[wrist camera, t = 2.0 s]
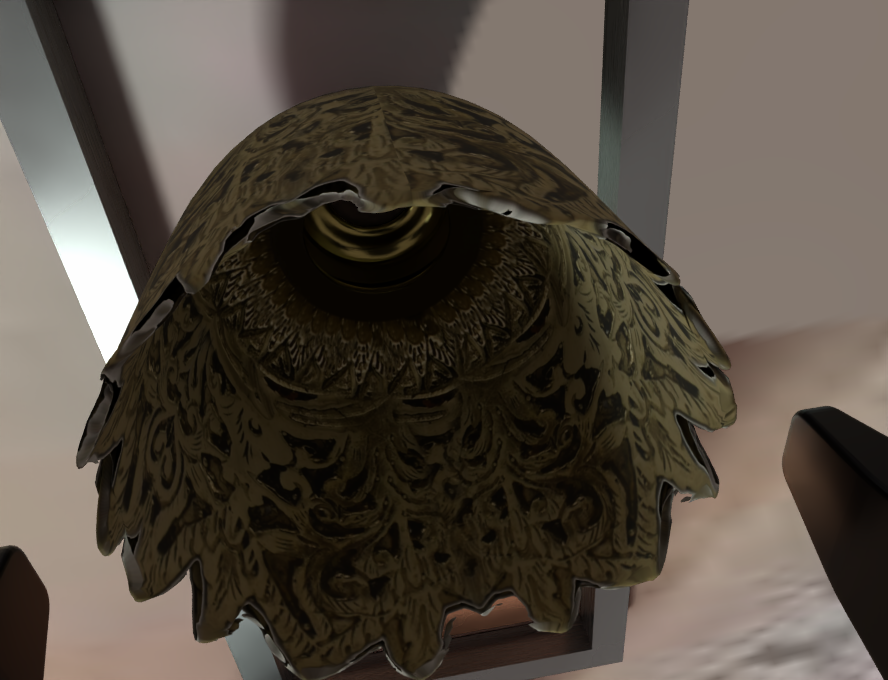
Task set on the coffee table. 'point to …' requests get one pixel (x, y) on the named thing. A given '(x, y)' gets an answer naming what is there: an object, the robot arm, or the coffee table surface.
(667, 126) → the grey double frame
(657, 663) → the coffee table surface
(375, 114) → the bronze ornate bell
